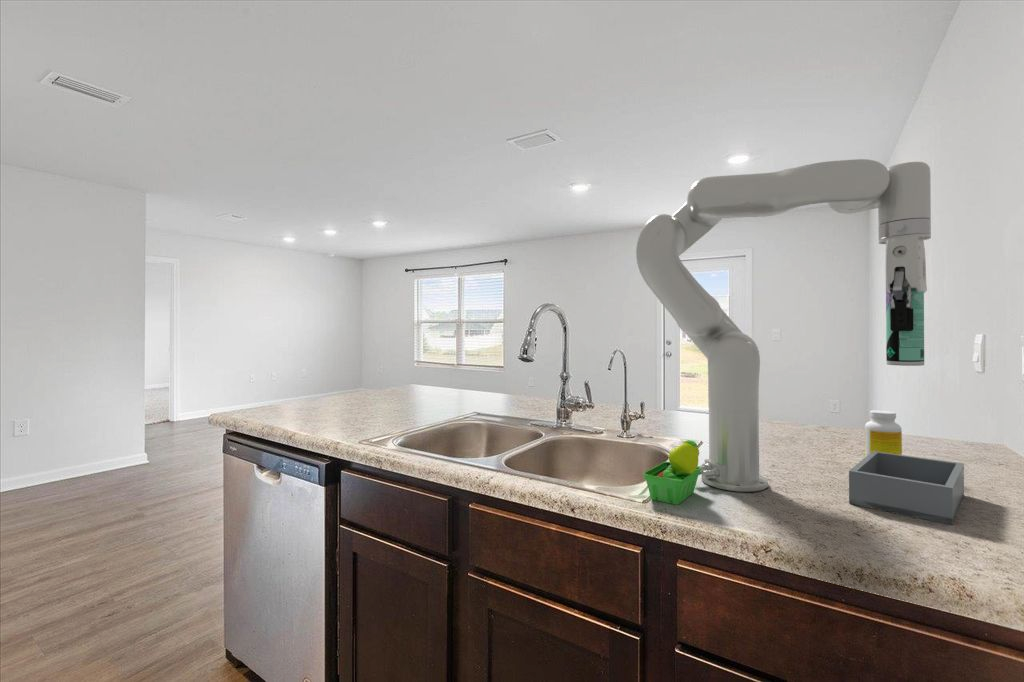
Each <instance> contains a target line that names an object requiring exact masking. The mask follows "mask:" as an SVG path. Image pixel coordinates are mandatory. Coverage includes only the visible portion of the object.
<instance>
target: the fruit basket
mask: <svg viewBox="0 0 1024 682" xmlns="http://www.w3.org/2000/svg"><path fill="white" fill-rule="evenodd" d="M699 455H700V450H699V447H698V444H697V442H695V440H691V439H687V440H685V441H684V442H682V443H681V444H680V445H679V446H676V447H674V448H673V449H672V450H670V451H669V452H668V460H669V461H663V462H661V463H660V464H657V465H656V466H654V467H652V468H650V469H648V470H647V471H645V472H643V477H644V479H645V481H646V484H647V489H648V492H649V495H650V499H651V500H652V501H657V502H661V503H667V504H672V505H675V506H676V505H677V506H678V505H680V504H681V502H684V501H685V500H686V499H687V498H688V497H689V496H690V495H693V494H694V492H695V489H696V485H697V482H698V478H699V476H700V475H699V473H700V470H701V468H700V467H697V466H699Z"/></svg>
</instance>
